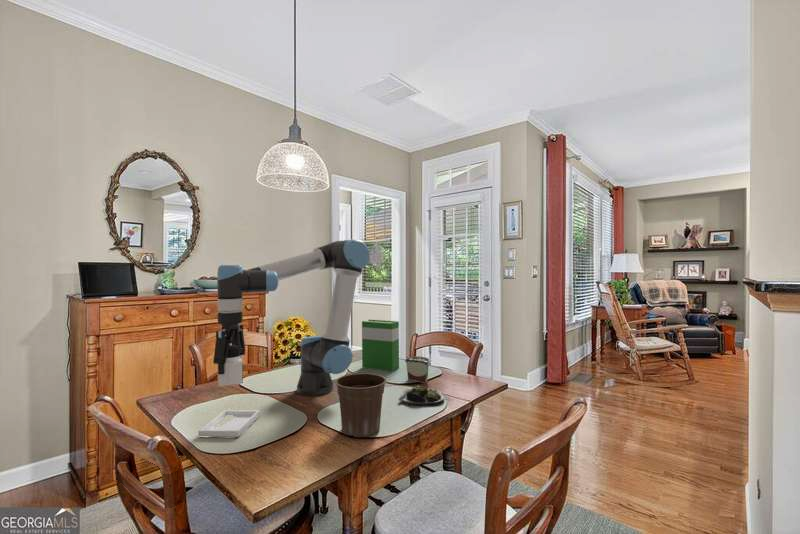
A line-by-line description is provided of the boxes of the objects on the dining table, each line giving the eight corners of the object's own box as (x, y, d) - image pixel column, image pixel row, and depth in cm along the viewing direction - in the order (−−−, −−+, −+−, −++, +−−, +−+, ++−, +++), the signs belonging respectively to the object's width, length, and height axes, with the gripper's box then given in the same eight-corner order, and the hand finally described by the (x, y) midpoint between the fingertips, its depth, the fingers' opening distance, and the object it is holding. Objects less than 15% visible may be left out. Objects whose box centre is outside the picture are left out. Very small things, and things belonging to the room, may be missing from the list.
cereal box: (362, 367, 195) (361, 321, 195) (369, 364, 202) (369, 319, 202) (392, 371, 187) (392, 323, 187) (399, 367, 194) (398, 321, 194)
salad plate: (397, 390, 160) (397, 379, 160) (439, 389, 161) (439, 378, 161) (398, 407, 141) (398, 395, 141) (446, 406, 141) (446, 394, 141)
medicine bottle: (243, 383, 123) (242, 347, 123) (218, 386, 120) (218, 349, 120) (241, 377, 129) (241, 343, 129) (218, 380, 126) (218, 345, 126)
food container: (435, 379, 173) (434, 358, 173) (428, 383, 168) (428, 361, 168) (412, 375, 180) (411, 355, 180) (405, 379, 175) (405, 357, 175)
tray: (260, 416, 133) (260, 410, 133) (238, 438, 116) (238, 431, 116) (225, 416, 133) (225, 410, 133) (198, 438, 116) (198, 430, 116)
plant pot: (371, 415, 133) (371, 370, 133) (396, 432, 119) (395, 381, 119) (328, 426, 124) (327, 377, 124) (348, 446, 110) (348, 391, 110)
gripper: (235, 307, 136) (235, 369, 136) (200, 315, 114) (200, 389, 114) (255, 307, 135) (255, 369, 136) (224, 315, 113) (224, 390, 113)
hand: (230, 378), depth 125 cm, fingers closed on medicine bottle, 9 cm apart
